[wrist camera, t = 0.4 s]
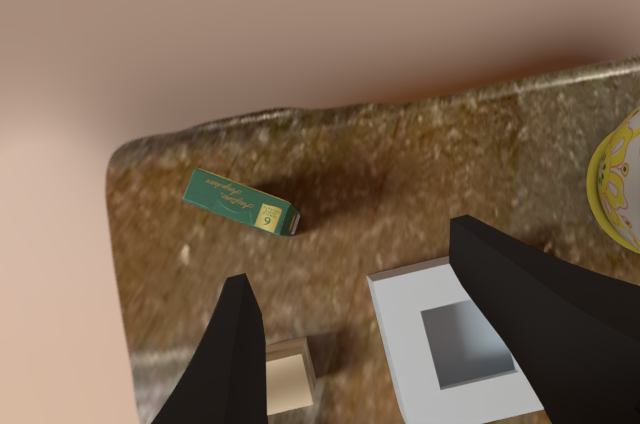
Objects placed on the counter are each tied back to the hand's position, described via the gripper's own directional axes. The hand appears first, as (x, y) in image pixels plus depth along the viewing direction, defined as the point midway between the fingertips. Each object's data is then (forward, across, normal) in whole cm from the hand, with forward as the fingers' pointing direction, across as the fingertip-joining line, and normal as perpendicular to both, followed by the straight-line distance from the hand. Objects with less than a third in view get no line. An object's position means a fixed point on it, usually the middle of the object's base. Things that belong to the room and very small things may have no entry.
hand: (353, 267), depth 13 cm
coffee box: (+25, +5, +13) cm, 28 cm away
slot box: (+14, -11, +25) cm, 30 cm away
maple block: (+15, +6, +25) cm, 30 cm away
